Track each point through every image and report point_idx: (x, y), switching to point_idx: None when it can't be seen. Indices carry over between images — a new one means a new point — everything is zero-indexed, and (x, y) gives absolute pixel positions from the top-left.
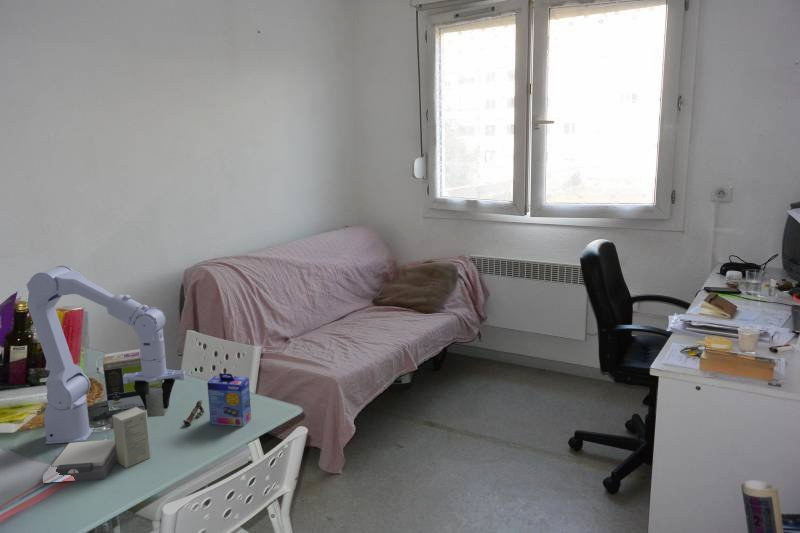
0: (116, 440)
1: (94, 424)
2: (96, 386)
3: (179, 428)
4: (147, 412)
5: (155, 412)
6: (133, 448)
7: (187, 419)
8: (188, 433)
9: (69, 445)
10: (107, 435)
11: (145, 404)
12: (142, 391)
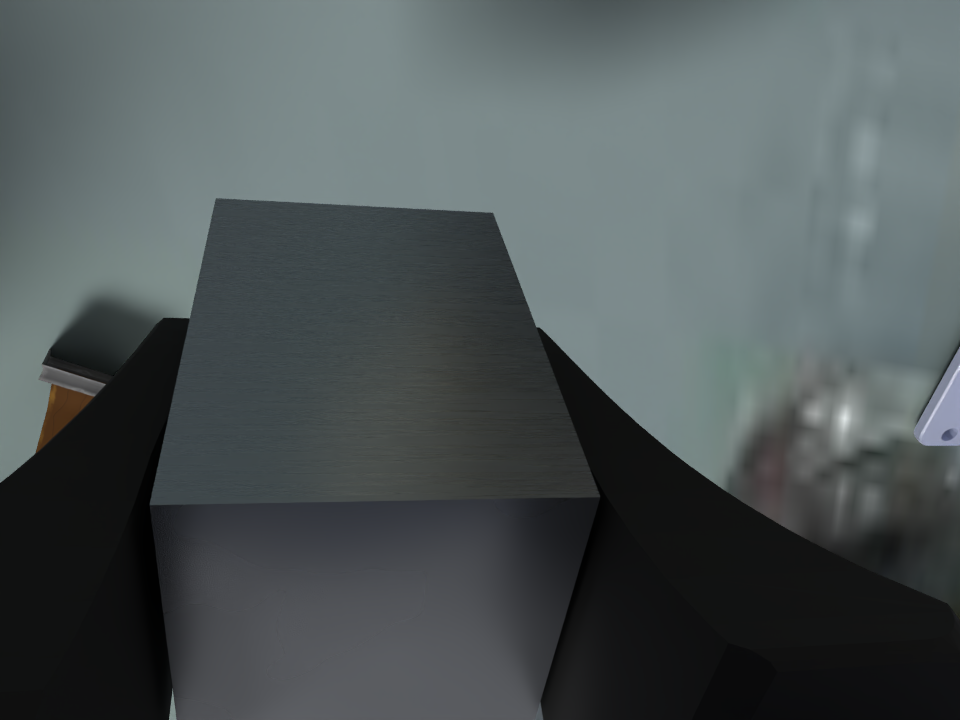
0: None
1: (906, 481)
2: None
3: (163, 307)
4: (502, 253)
5: (363, 241)
6: None
7: (79, 410)
8: (3, 169)
9: None
10: (840, 292)
11: (558, 373)
12: (702, 565)
